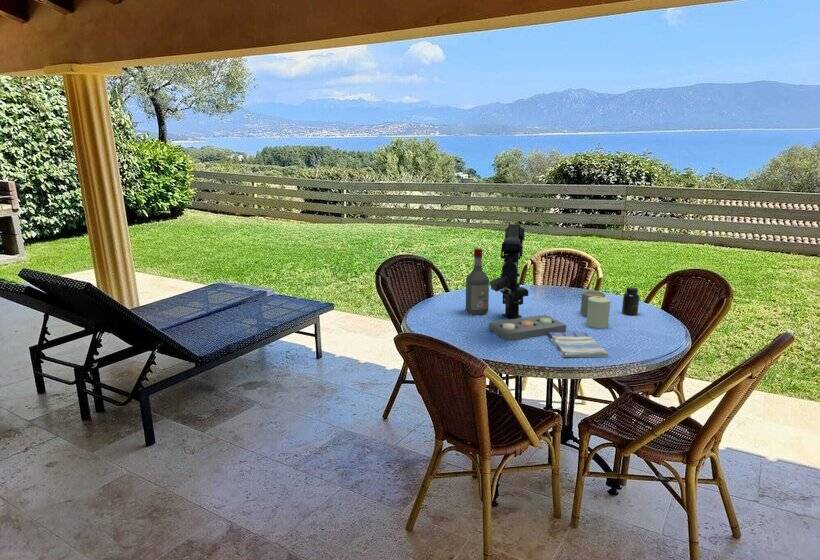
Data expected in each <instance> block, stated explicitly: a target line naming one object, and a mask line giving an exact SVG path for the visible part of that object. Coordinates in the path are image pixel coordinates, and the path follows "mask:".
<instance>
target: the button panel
mask: <svg viewBox="0 0 820 560" xmlns="http://www.w3.org/2000/svg"><path fill="white" fill-rule="evenodd" d="M540 318H550V319H552V323H549V324H542V323H540ZM524 320H529V321H532V322H534V324H533V326H529V327H524V326H522V325H521V322H522V321H524ZM504 323H512V324H514V325H515V329H509V330H505V329H504V328H502V326H503V324H504ZM489 329H490V330H489ZM488 330H489V331H491V332H492V331H493V333H494V334H495V333H496V334H495V335H497V336H498V335H499V336H498V337H500V338H502V339H503V340H505V341H506V342H510V341H517V340H522V339H530V338H536V337H542V336H548V333H549V332H553V333H563V332H567V324H566V323H563V322H561V321H560V320H557V319H555V318H553V317H551V316H549V315H547V314H541V315H533V316H532V315H531V316H526V317H518V318H511V319H505V320H504V319H503V320H498V321H490V322H488Z"/></svg>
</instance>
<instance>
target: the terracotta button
mask: <svg viewBox="0 0 820 560" xmlns="http://www.w3.org/2000/svg"><path fill="white" fill-rule="evenodd" d="M533 324H534V322H532V321H529V320H524V321H522V322H521V325H522V326H524V327H529V326H533Z"/></svg>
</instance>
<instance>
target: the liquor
mask: <svg viewBox="0 0 820 560" xmlns="http://www.w3.org/2000/svg"><path fill="white" fill-rule="evenodd" d="M473 258H474V259H473V268H472V269H473V270H472V271H471V272H470V273H469V274H468V275H467V276H466V279H465V312H466V311H467V312H468V313H467V312H466V313H467V314H469V313H470V314H469V315H471V314H472V315H471V316H475V315H478V316H482V315H481V314H485V315H486V313H487V314H488V312H489V304H490V303H489V297H490V278H489V276H488V275H487V274H486V272H485V271H484V270H483V267H482V266H483V263H482V262H483V248H474V249H473Z"/></svg>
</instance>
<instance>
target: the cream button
mask: <svg viewBox="0 0 820 560" xmlns="http://www.w3.org/2000/svg"><path fill="white" fill-rule="evenodd" d="M502 328H504V329H505V330H509V329H515V325H514V324H512V323H504V324H503V326H502Z"/></svg>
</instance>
